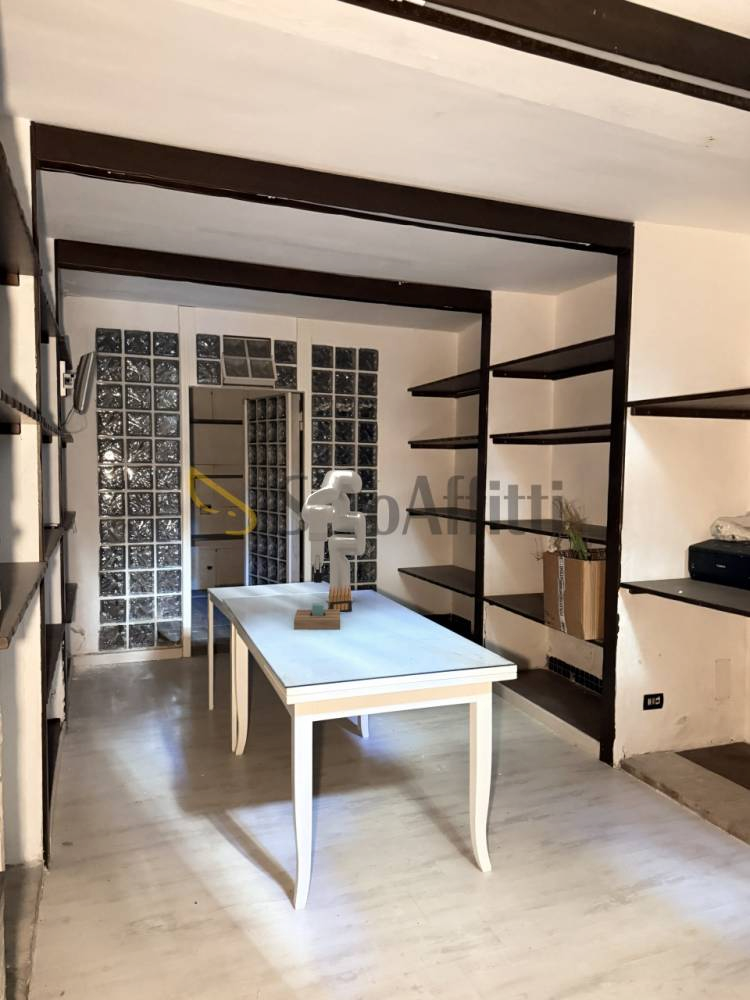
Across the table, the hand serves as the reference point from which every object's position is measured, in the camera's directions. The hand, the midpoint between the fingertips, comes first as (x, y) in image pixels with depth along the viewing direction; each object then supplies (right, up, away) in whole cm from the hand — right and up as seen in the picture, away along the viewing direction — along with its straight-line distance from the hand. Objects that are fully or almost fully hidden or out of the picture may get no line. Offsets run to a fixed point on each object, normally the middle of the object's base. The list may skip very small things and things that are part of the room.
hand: (317, 582), depth 273 cm
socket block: (0, -17, +1) cm, 17 cm away
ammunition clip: (+8, -16, +22) cm, 29 cm away
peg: (0, -17, +1) cm, 17 cm away
